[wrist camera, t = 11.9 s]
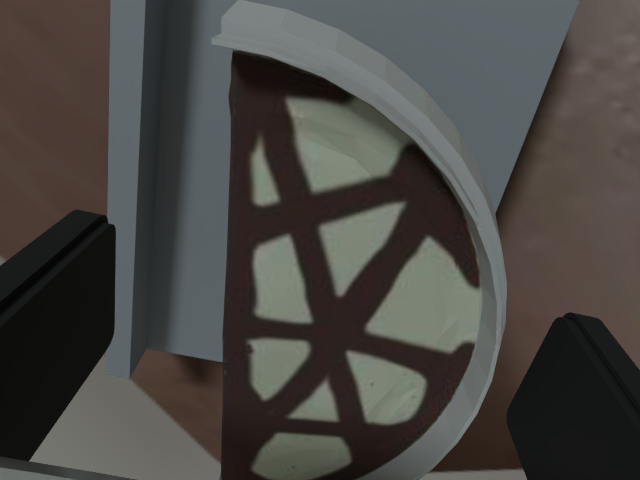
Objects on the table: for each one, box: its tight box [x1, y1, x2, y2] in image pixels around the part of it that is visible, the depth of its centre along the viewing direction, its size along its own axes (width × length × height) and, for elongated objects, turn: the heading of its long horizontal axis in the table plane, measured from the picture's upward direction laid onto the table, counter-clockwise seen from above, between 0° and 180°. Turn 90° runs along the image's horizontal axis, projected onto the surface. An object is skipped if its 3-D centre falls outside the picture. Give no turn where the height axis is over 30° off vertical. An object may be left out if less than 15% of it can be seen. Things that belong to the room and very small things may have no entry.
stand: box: [105, 0, 580, 379], centre depth 19 cm, size 14×18×5 cm
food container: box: [211, 0, 507, 480], centre depth 14 cm, size 12×6×10 cm, turn 174°
